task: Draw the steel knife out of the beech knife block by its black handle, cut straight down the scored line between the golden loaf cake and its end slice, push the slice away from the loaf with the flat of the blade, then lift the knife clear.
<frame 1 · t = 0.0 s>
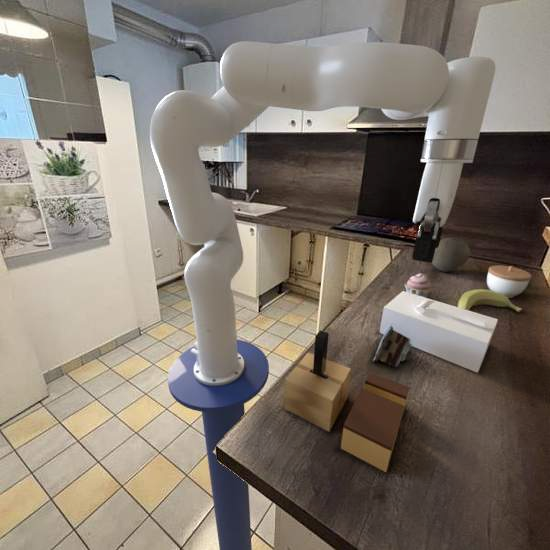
hand: (425, 253, 54), 32 cm above the worktop, tool pointing down, fingers open, 9 cm apart
cupcake: (415, 298, 107), on the worktop
loaf cake: (370, 438, 54), on the worktop
banana: (487, 310, 99), on the worktop
knife: (319, 370, 58), in the knife block
chocolate cake: (391, 356, 76), on the worktop
tissue box: (431, 339, 83), on the worktop
lidded bowl: (502, 294, 110), on the worktop
knife block: (316, 403, 62), on the worktop
cake slice: (382, 405, 61), on the worktop
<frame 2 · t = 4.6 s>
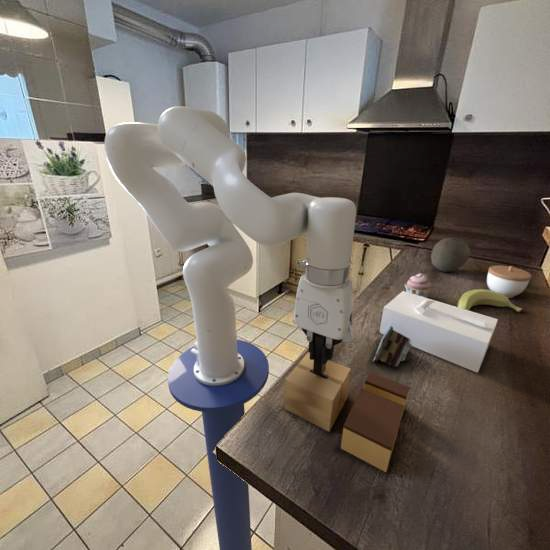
hand: (320, 357, 57), 12 cm above the worktop, tool pointing down, fingers closed on knife, 1 cm apart
knife: (319, 370, 58), in the knife block, touching gripper
everything else where it was.
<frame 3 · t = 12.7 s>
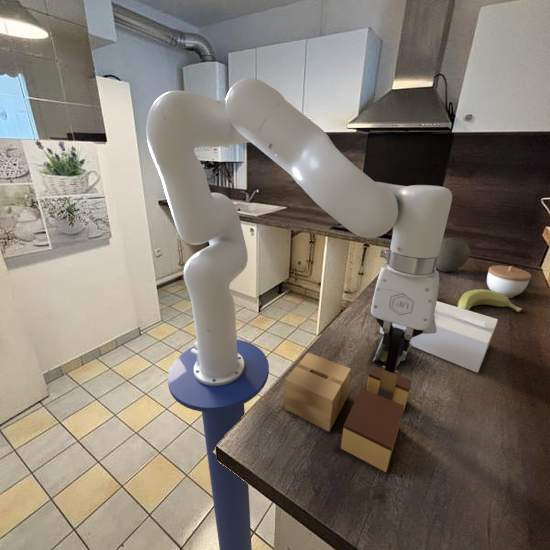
hand: (394, 349, 56), 14 cm above the worktop, tool pointing down, fingers closed on knife, 1 cm apart
knife: (390, 367, 58), point 10 cm above the worktop, touching cake slice, gripper
cake slice: (385, 398, 63), on the worktop, touching knife
everything else where it was.
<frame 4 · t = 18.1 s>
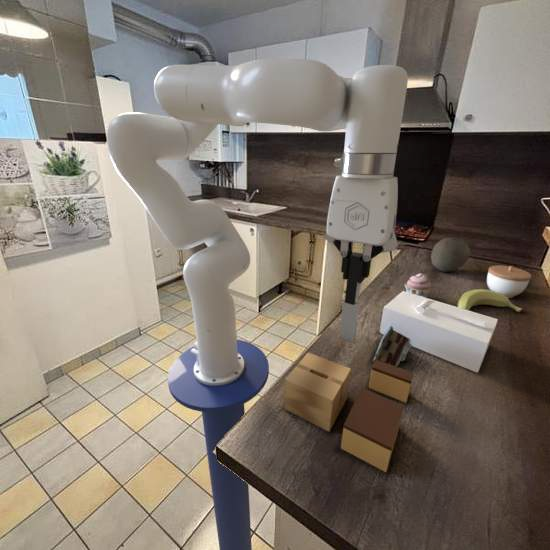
hand: (354, 277, 51), 29 cm above the worktop, tool pointing down, fingers closed on knife
knife: (351, 300, 53), point 25 cm above the worktop, touching gripper
cake slice: (388, 390, 65), on the worktop
everything else where it was.
at the end: cake slice 0.6 cm from the target spot on the worktop beside the loaf cake, on the worktop; cake slice tilted 0°; loaf cake moved 0.0 cm from its start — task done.
